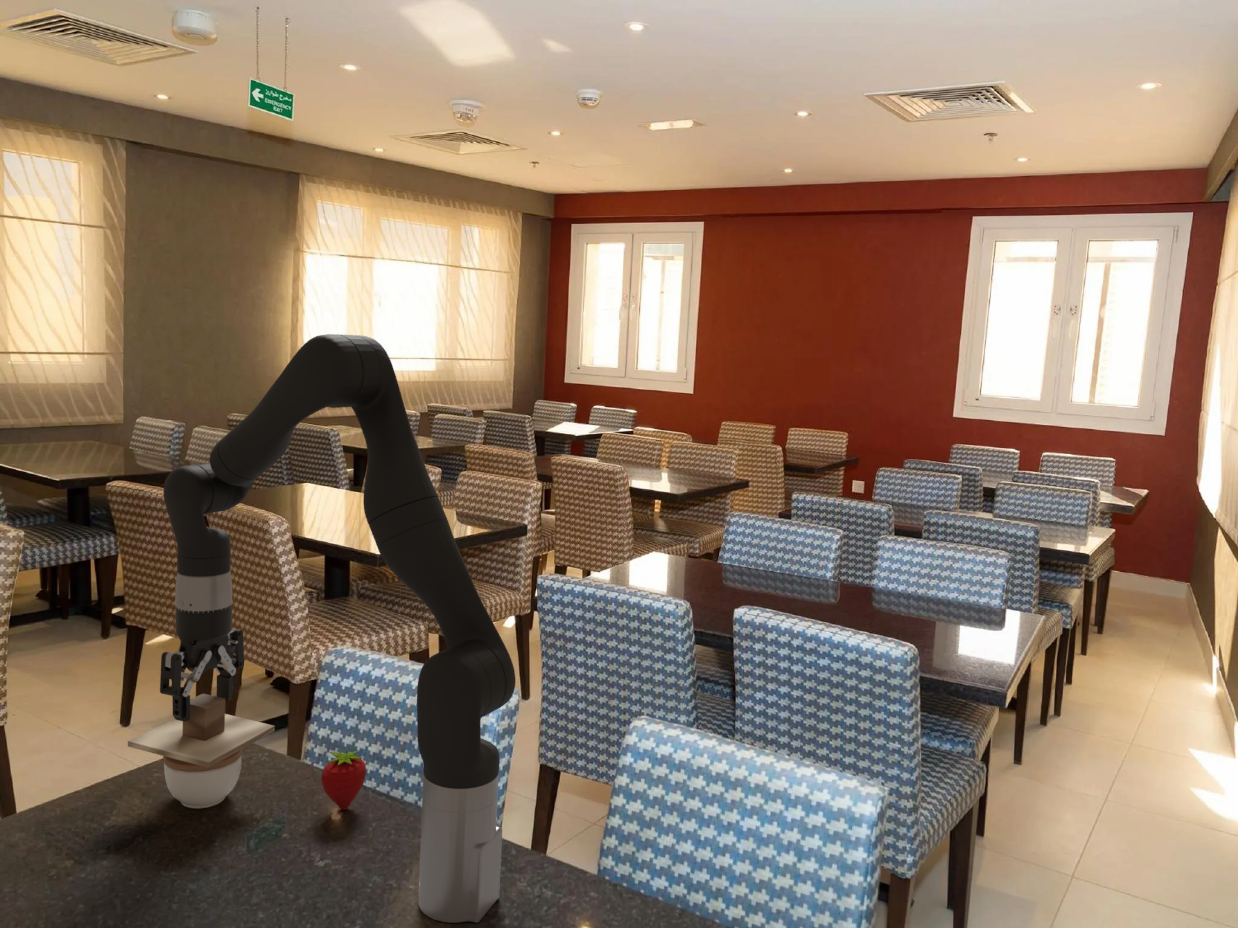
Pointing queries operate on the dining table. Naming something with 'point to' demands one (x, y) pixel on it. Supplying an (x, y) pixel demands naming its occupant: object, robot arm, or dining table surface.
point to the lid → (202, 734)
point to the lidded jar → (202, 780)
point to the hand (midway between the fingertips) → (203, 709)
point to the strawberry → (343, 778)
